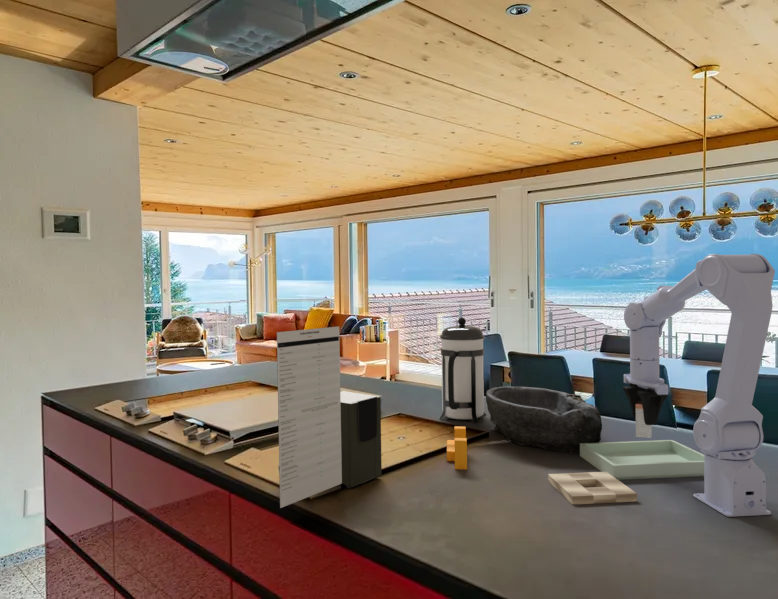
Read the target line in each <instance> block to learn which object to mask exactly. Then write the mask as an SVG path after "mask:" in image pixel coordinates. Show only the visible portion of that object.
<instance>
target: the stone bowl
mask: <svg viewBox="0 0 778 599" xmlns="http://www.w3.org/2000/svg"><path fill="white" fill-rule="evenodd" d="M485 400H486V405H487V407H486V408H487V410H488V413H489V415H490V416H489V418H490V419H489V420H490V421H491V422H492V424H493V425H495V426H492V427H491V428H490V430H492V431H494V432H496V433H497V435H500V434H502V435H503V438H507V439H508V441H510V442H513V443H515V444H517V445H520V446H527V447H528V446H529V447H535V448H540V449H545V450H552V451H556V452H560V453H563V454H571V455H575V454H578V455H580V443H600V442H601V440H602V430H603V423H602V413H601V412H600V410H599V408H598V407H597V406H594V404H590V403H587V402H586V401H585V400H584V399H583V398H582V396H581V395H580V394H574V393H572V394H571V393H568V392H566V391H565V392H564V391H559V390H554V389H548V388H543V387H531V386H530V387H529V386H506V385H505V386H499V387H492V388H490V389H488V390H486V393H485Z"/></svg>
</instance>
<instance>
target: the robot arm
mask: <svg viewBox="0 0 778 599" xmlns="http://www.w3.org/2000/svg"><path fill="white" fill-rule="evenodd" d="M775 274H776V269H775V268H774V267H773V266H772V265H771V263H770V262H769V260H768V259H767V258H766V257H765V256H764V255H762V254H759V253H749V254H719V253H710V254H708V255H706V256H704V258H702V259H700V260H698V261H697V262H696V264H695V268H694V269H693V270H692V271H690V272H689V273H688V274H687V275H686V276H685V277H683V278H682V279H681V280H680V281H678V282H677V283H675V285H659V286H658V287H656V291H655V292H653V293H652V294H650V295H649V296H645V297H643V300H642V301H640V302H634V301H633V302H629V303H628V304H627V306H626V307H625V309H624V312H623V321H624V324H625V326H626V327H627V329H629V365H630V366H629V369H630V370H629V371H630V372H629V373H624V374H623V383H625V384H629V385H627V386H623V387H622V390H623V392H624V393H625V395H626V397H627V399H628V402H629V406H630V408H631V414H632V416H633V417H632V418H633V419H634V420H635V421H636V401H639V402H641V403H642V407H643V414H644V421H645V424H646V425H652V426H656V425H657V422H658V419H659V415H660V413H661V409H662V407H663V404H664V403H665V401H666V399H667V398H668V396H669V384H666V383H665V379H664V378H661V377H660V338H661V337H662V335H663V328H664V326H665V324H666V320H667V319H669V318H670V317H673V316H674V315H675V314H677V313H679V312H681V311H683V309H684V308H685V305H686V301H688V300H689V299H691V298H694V297H695V296H697V295H698V294H700V293H703V292H705V291H706V290H707V291H708V292H709V293H710V294H711V295H712V296H713V297H715V299H716V300H718V301H719V302H720V304H723V305H724V306H727V308H728V309H729V311H730V312H731V314H730V320H729V325H728V331H727V335H726V339H725V346H724V351H723V356H722V360H721V365H720V370H719V374H718V375H719V376H718V380H717V387H716V392H715V395H714V398H713V399H711V400H710V401H709V402H708V403H706V404H704V405H703V406H702V407H701V409H700V414H699V417H698V418H697V419H696V421H695V422H694V424H693V429H692V437H693V439H694V443H695V444H696V446H697V448H698V449H699V450H700V453H701V454H704V476H703V478H704V480H703V486H704V487H703V490H704V491H703V492H704V493H702V492H700V493H698V492H697V493H693V496H692V497H694V498H696V500H698V501H700V502H702V503H704V504H706V505H707V506H709V507H710V508H712V509H714V510H715V511H717V512H719V513H720V514H721V515H724V516H726V517H731V518H732V517H734V518H735V517H751V516H752V517H753V516H769V515H772V512H771V511H770V510H768V509H767V477H766V474H765V472H764V471H763V470H762V468H760V467H759V466H758V465H757V464H755V462H754V460H753V457H755V456H756V450H758V449H759V448H761V446H762V445H763V442H764V431H763V419H764V416H763V414H762V413H761V412H760V411H759V410H758V409H757V408H755V406H754V405H753V402H754V395H755V391H756V387H757V382H758V377H759V373H760V367H761V364H762V359H763V354H764V349H765V345H766V342H767V341H766V340H767V336H768V333H769V332H768V331H769V326H770V322H771V317H772V313H773V312H772V311H773V296H772V287H773V282H774V278H775Z"/></svg>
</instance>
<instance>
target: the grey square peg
mask: <svg viewBox="0 0 778 599" xmlns="http://www.w3.org/2000/svg"><path fill="white" fill-rule="evenodd" d="M652 427H653V425H646V424H645V421H644V414H643V407H642V403H641V402H639V401H636V420H635V438H637V437H638V438H645V439H646V438H647V439H652V434H653V432H652V431H653V430H652V429H653V428H652Z"/></svg>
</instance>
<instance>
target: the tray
mask: <svg viewBox="0 0 778 599" xmlns="http://www.w3.org/2000/svg"><path fill="white" fill-rule="evenodd" d="M579 457H581V458H582V459H583V460H585V461H586V462H588V463H589V464H591V465H592V466H593V467H594V468H596V469H597V470H598V471H599V472H607V473H609V474H610V475H612V476H613V477H614V478H616V479H617V480H619V481H621V480H623V481H624V480H643V479H646V480H647V479H648V480H649V479H666V478H667V479H669V478H687V477H688V478H689V477H704V453H702V452H699V451H697V450H695V449H693V448H691V447H689V446H687V445H684V444H682V443H680V442H677V441H676V440H674V439H660V440H659V439H658V440H637V441H636V440H633V441H632V440H631V441H610V442H608V441H607V442H605V441H604V442H599V443H580V454H579Z"/></svg>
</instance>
